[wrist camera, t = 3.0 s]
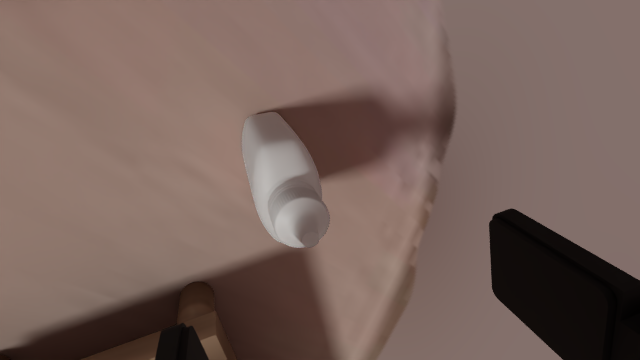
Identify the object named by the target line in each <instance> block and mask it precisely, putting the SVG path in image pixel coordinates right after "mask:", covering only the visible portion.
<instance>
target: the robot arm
mask: <svg viewBox="0 0 640 360" xmlns="http://www.w3.org/2000/svg"><path fill="white" fill-rule="evenodd" d="M489 232H490V254H491V275H492V289H493V292H494V294H495V296H496V297H497V298H498V299H499V300H500V301H501V302H502V303H503V304H504V305H505V306H506V307H507V308H508V309H509V310H510V311H512V312H513V313H514V314H515V315H516V316H517V317H518V318H519V319H520V320H521V321H522V322H523V323H524V324H525V325H526V326H528V327H529V328H530V329H531V330H532V331H533V332H534V333H535V334H536V335H537V336H538V337H539V338H541V339H542V340H543V341H544V342H545V343H546V344H547V345H548V346H549V347H550V348H551V349H552V350H553V351H554V352H555V353H557V354H558V355H559V356H560V357H561V358H562V359H563V360H640V280H638V279H636V278H634V277H632V276H631V275H629V274H627V273H626V272H624V271H622V270H620V269H619V268H617V267H615V266H613V265H612V264H609V263H608V262H606V261H605V260H603V259H601V258H599V257H598V256H596V255H594V254H592V253H591V252H589V251H587V250H585V249H584V248H582V247H580V246H578V245H577V244H575V243H573V242H571V241H570V240H568V239H566V238H564V237H563V236H561V235H559V234H557V233H556V232H554V231H552V230H550V229H548V228H547V227H545V226H543V225H542V224H540V223H538V222H536V221H535V220H533V219H531V218H529V217H528V216H526V215H524V214H522V213H521V212H519V211H517V210H515V209H508V210H505V211H503V212H500V213H497V214H495V215H494V216H493V218H492V220H491V221H490V223H489ZM155 360H209V358H208V356H207V354H206V352H205V350H204V348H203V346H202V344H201V342H200V339H199V337H198V335H197V333H196V331H195V329H194V327H193V326H188V327H186V325H185V324H184V323H181V324H178V325H175V326H172V327H169V328H166V329H163V330H162V331H161V333H160V338H159V342H158V347H157V352H156V357H155Z"/></svg>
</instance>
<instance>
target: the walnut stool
mask: <svg viewBox="0 0 640 360" xmlns="http://www.w3.org/2000/svg"><path fill="white" fill-rule="evenodd" d="M181 323H184V324H185V325H186V327H188V326H193V327H194V329H195V331H196V333H197V335H198V337H199V339H200V342H201V344H202V346H203V348H204V350H205V352H206V354H207V356H208V358H209V360H237V358H236V356H235V354H234V351H233V349H232V347H231V345H230V342H229V340H228V338H227V336H226V333H225V331H224V329H223V326H222V324H221V322H220V320H219V317H218V315H217V313H216V311H214V290H213V288H212V287H211V286H210V285H208V284H207V283H204V282H194V283H191V284H189V285H187V286H186V287H184V288H183V290H182V291H181V294H180V301H179V309H178V317H177V325H178V324H181ZM161 331H162V330H161ZM161 331H158V332H155V333H153V334H150V335H147V336H144V337H142V338H139V339H136V340H133V341H131V342H128V343H125V344H122V345H119V346H117V347H114V348H111V349H108V350H106V351H103V352H100V353H97V354H94V355H92V356H89V357H86V358H83V359H81V360H155V357H156V352H157V347H158V342H159V338H160V333H161ZM0 360H11V359H9V358H8V357H6V356H4V355H1V354H0Z"/></svg>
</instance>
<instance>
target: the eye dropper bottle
mask: <svg viewBox="0 0 640 360" xmlns="http://www.w3.org/2000/svg"><path fill="white" fill-rule="evenodd" d="M242 153H243V159H244V164H245V168H246V172H247V176H248V180H249V184H250V187H251V191H252V195H253V199H254V203H255V206H256V209H257V212H258V215H259V217H260V219H261V221H262V223H263V225H264V227H265V228H266V230H267V231H268V232H269V234H270V235H271V236H272V237H273V238H274V239H275V240H276V241H278V242H280V243H285V245H287V246H290V247H295V248H297V247H298V248H302V247H308V248H311V247H314V246H315V245H317V244H318V242H319V240H320V239H321V238H322V237H323V236H324V234H325V233H326V231H327V229H328V227H329V224H330V223H329V222H330V220H329V219H330V217H329V216H330V215H329V212H328V209H327V207H326V205H325V204H324V202H323V201H322V189H321V183H320V178H319V174H318V171H317V168H316V166H315V163H314V161H313V159H312V157H311V155H310V153H309V151H308V150H307V148H306V146H305V145H304V144H303V142H302V141H301V140H300V138H299V137H298V136H297V134H296V133H295V132H294V131H293V130H292V128H291V127H290V126H289V125H288V124H287V123H286V121H285V120H284V119H283V118H282V117H281V116H280V115H279V114H278V113H276V112H267V113H261V114H256V115H252V116H250V117H248V118H247V119H246V121H245V124H244V128H243V134H242Z"/></svg>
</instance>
